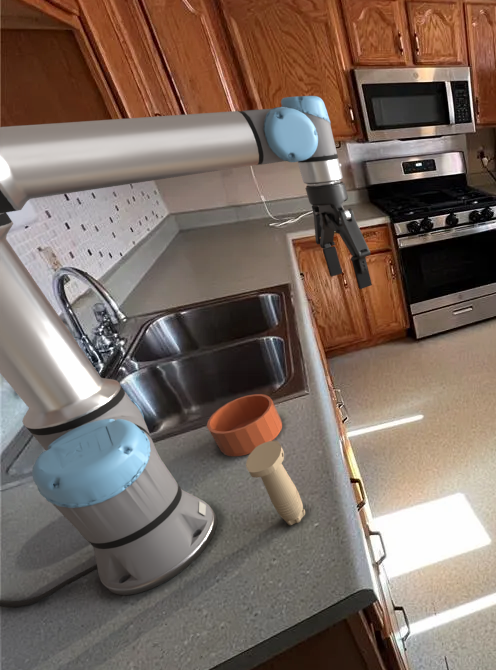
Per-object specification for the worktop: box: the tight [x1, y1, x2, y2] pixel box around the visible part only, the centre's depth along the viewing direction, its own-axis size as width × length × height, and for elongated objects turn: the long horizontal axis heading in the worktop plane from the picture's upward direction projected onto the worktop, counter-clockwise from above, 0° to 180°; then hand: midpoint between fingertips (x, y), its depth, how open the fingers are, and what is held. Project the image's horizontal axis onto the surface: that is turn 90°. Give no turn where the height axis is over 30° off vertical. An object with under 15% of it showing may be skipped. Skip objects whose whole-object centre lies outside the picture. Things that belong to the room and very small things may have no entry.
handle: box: [245, 440, 306, 526], centre depth 68 cm, size 5×6×15 cm
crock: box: [206, 393, 283, 457], centre depth 89 cm, size 12×12×6 cm
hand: (350, 280), depth 93 cm, fingers open, 13 cm apart
